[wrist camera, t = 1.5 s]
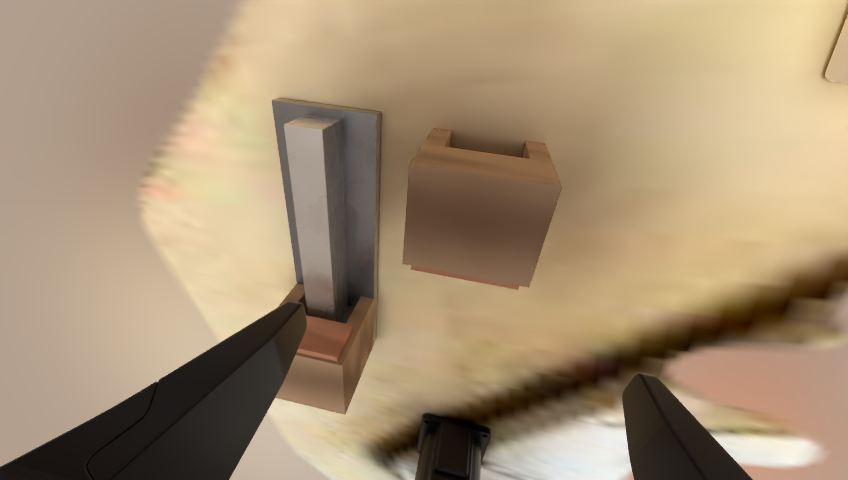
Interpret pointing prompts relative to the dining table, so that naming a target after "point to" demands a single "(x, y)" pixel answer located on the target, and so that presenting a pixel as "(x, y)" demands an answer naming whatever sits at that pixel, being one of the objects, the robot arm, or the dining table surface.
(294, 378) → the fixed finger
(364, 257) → the rail
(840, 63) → the medicine bottle
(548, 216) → the block
